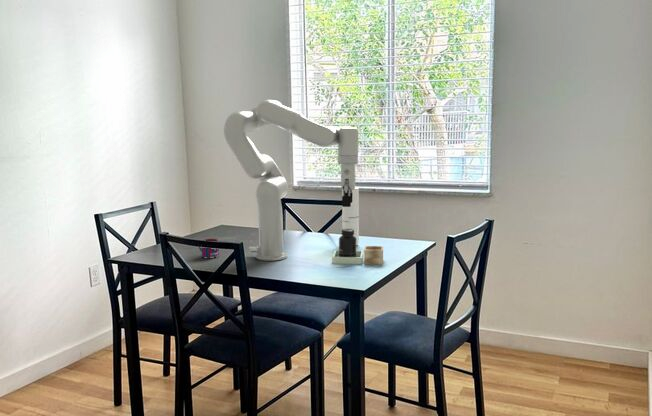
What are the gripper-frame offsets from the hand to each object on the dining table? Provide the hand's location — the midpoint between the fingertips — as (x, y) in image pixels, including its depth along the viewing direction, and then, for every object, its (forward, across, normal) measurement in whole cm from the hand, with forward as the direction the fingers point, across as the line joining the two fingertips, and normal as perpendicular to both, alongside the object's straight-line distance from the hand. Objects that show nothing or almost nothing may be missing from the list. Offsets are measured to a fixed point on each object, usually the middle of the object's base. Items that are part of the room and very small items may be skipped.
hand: (347, 204), depth 234 cm
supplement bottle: (+22, 0, 0) cm, 22 cm away
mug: (+23, +4, +56) cm, 61 cm away
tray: (+22, 0, -1) cm, 22 cm away
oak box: (+22, -2, -11) cm, 25 cm away
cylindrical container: (+23, +29, 0) cm, 37 cm away
